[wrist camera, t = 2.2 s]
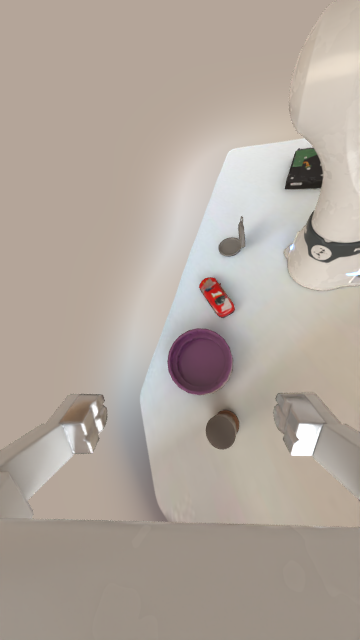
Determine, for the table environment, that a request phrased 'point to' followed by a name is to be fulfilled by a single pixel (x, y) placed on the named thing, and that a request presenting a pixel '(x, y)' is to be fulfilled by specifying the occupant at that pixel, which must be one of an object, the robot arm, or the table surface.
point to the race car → (216, 297)
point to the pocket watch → (233, 243)
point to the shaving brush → (222, 429)
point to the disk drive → (305, 170)
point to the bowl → (200, 362)
